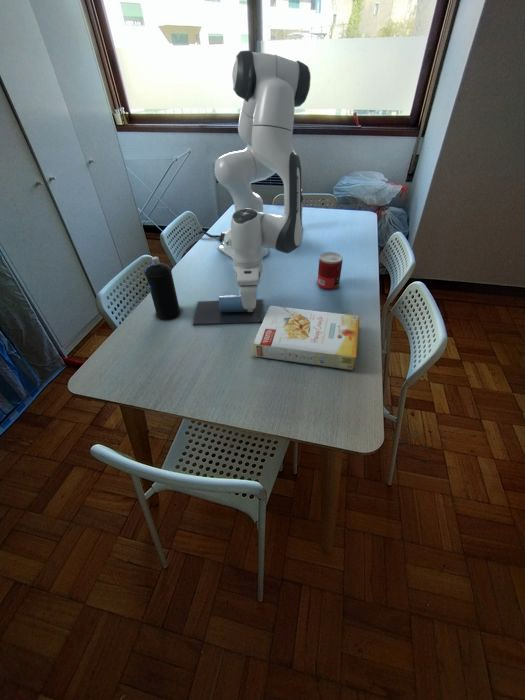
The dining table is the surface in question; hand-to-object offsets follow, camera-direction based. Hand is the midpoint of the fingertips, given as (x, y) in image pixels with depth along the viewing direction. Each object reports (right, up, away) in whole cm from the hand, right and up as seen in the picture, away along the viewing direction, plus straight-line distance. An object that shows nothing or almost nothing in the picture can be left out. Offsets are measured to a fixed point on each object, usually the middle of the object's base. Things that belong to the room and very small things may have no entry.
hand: (250, 304), depth 114 cm
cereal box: (+17, -13, -11) cm, 24 cm away
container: (-10, 0, 0) cm, 10 cm away
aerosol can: (-28, -3, +3) cm, 28 cm away
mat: (-7, -2, +2) cm, 8 cm away
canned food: (+28, +9, +14) cm, 32 cm away
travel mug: (+19, +43, +53) cm, 71 cm away
